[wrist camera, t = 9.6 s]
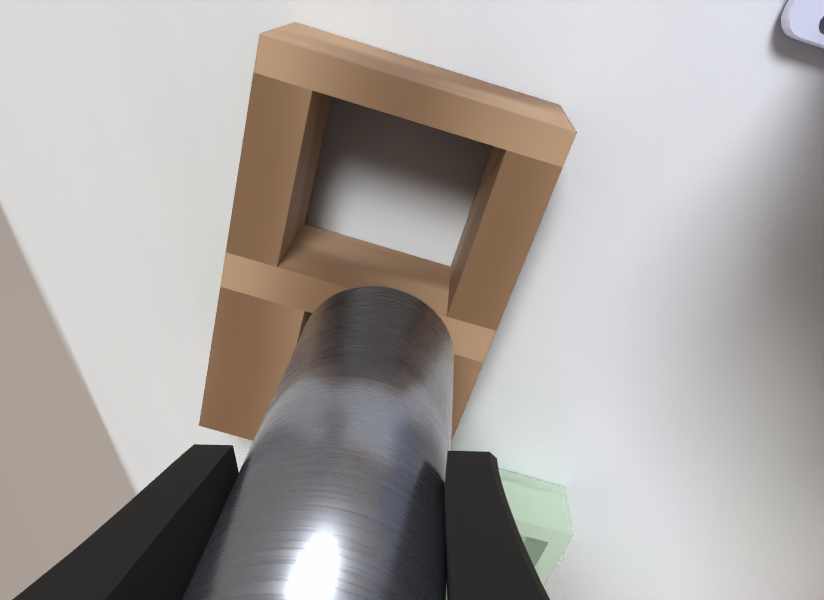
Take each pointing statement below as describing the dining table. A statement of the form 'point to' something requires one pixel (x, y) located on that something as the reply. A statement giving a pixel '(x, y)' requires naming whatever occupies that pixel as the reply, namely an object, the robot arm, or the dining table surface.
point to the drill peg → (345, 464)
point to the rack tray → (539, 519)
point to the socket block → (351, 258)
